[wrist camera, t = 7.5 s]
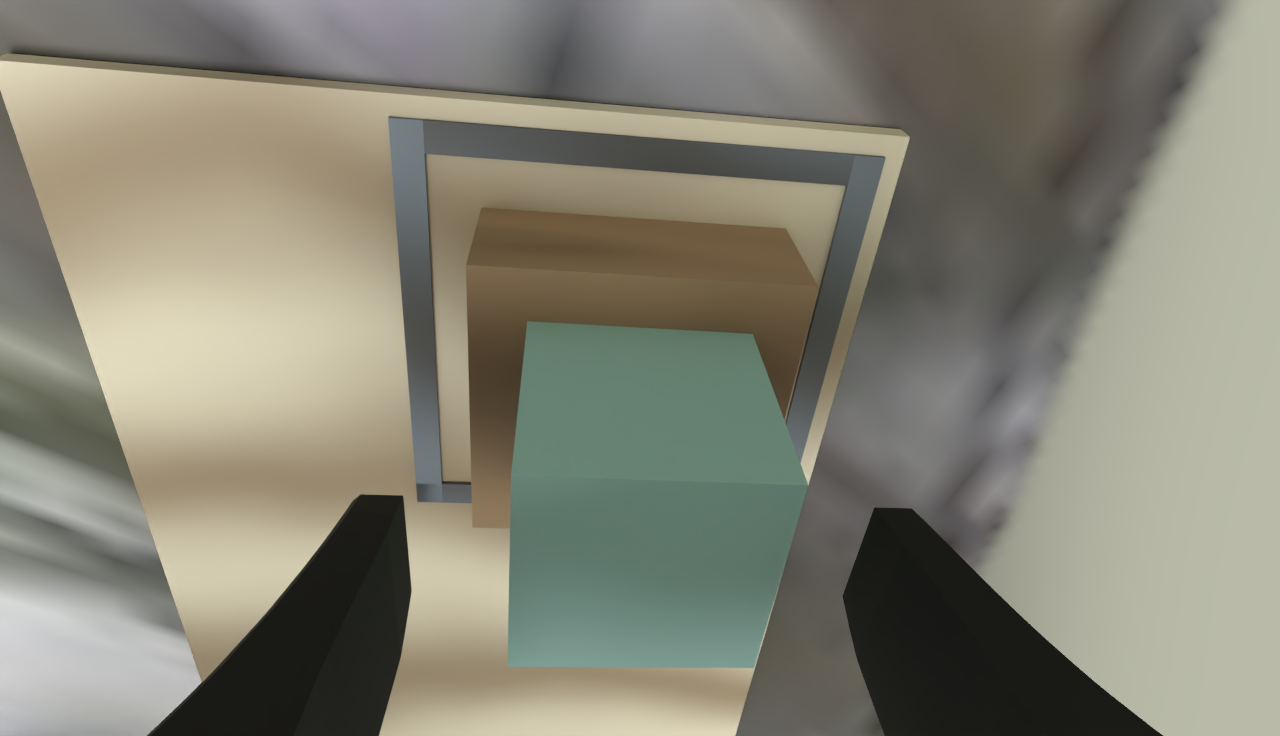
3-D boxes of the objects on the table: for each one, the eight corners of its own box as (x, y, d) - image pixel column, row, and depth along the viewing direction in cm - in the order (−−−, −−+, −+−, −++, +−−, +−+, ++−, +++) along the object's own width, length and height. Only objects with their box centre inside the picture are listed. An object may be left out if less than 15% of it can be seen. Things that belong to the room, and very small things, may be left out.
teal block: (717, 499, 16) (753, 667, 13) (522, 493, 16) (507, 666, 12) (752, 333, 14) (808, 484, 10) (527, 321, 13) (510, 474, 10)
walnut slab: (735, 458, 19) (755, 534, 17) (484, 450, 18) (472, 527, 16) (785, 228, 15) (818, 286, 13) (481, 207, 15) (465, 265, 13)
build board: (731, 726, 26) (734, 743, 25) (229, 728, 24) (222, 747, 24) (901, 129, 15) (912, 138, 14) (8, 52, 13) (-14, 60, 13)
